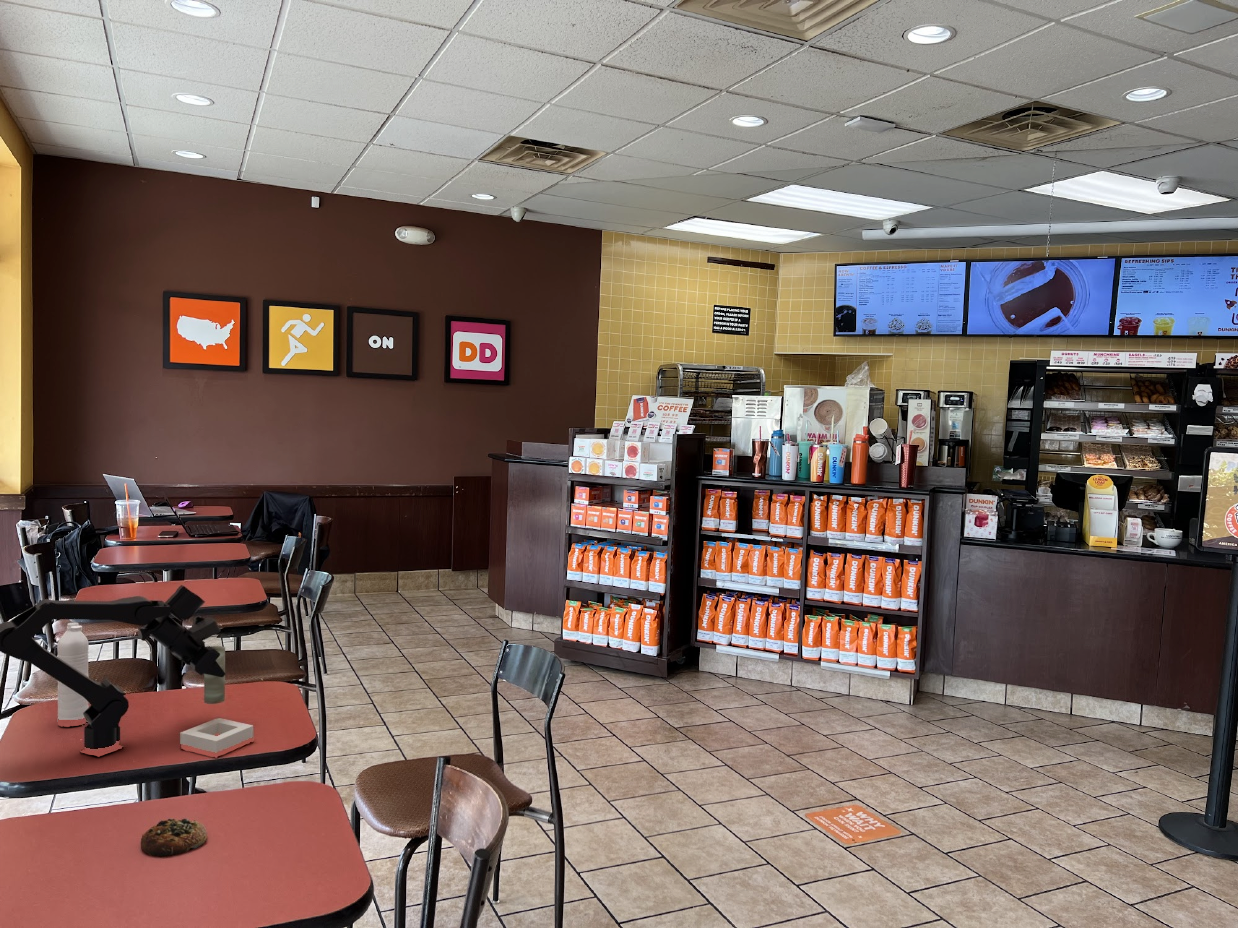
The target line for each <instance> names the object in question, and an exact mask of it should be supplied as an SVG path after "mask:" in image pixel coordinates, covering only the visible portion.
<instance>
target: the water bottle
mask: <svg viewBox="0 0 1238 928" xmlns="http://www.w3.org/2000/svg"><path fill="white" fill-rule="evenodd" d="M82 631H83V625H80V624H79V622H69V623H67V626H66V631H65V632H64V633H63V634H62V635H61V637H60V639H59V640H58V642H57V646H56V647H57V657H58V658H60V659H61V660H63V661H64V662H66V663H67V664H69V665H70V666H72V667H74V668H75V669H77V670H78V671H80V672H81V673H83V674H84V675H86V676H87V677H89V675H90V674H89V645H90V644H89V640H88V638H87V636H86V635H85V634H84V633H83V632H82ZM89 678H90V677H89ZM89 704H90V703H89V702H88V701H87V700H86V699H85V698H84V697H83V696H81V695H80V694H78V693H76V692H75V691H73V690H72V689H70V688H69V687H67V686H66V685H64V684H62V683H61V682H59V681H58V680H57V707H58V708H57V720H58V719H59V720H78V719H83V718H85V717H84V715H83V713H84V712H85V711H86V710H87V709H88V708H89V707H90V705H89Z"/></svg>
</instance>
